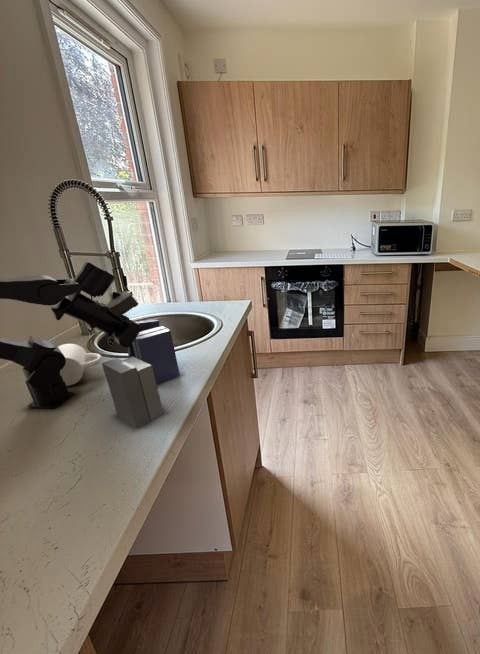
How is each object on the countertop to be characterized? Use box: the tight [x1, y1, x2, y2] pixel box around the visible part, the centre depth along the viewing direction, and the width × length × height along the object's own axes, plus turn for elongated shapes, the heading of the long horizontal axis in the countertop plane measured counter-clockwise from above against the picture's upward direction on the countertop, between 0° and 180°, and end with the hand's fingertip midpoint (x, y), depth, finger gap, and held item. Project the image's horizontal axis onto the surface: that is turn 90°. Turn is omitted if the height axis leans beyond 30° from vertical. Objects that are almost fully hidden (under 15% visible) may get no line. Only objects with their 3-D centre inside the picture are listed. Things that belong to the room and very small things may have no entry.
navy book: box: [126, 318, 161, 358], centre depth 94 cm, size 8×2×13 cm, turn 133°
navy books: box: [132, 325, 181, 385], centre depth 89 cm, size 8×5×13 cm, turn 135°
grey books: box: [101, 357, 164, 429], centre depth 74 cm, size 8×6×13 cm
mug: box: [57, 343, 103, 387], centre depth 92 cm, size 12×10×8 cm
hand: (147, 340), depth 95 cm, fingers closed on navy book, 2 cm apart
